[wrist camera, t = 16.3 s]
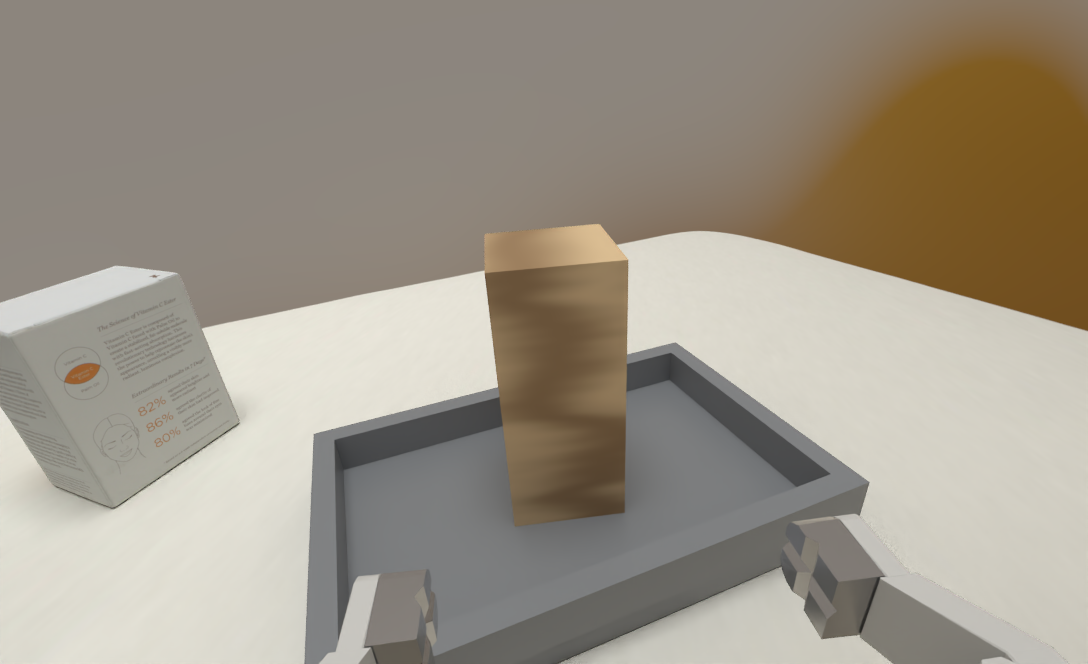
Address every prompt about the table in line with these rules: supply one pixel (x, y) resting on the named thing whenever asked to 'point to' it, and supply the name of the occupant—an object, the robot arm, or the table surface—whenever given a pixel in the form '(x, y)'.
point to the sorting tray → (570, 545)
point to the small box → (110, 380)
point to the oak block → (560, 368)
